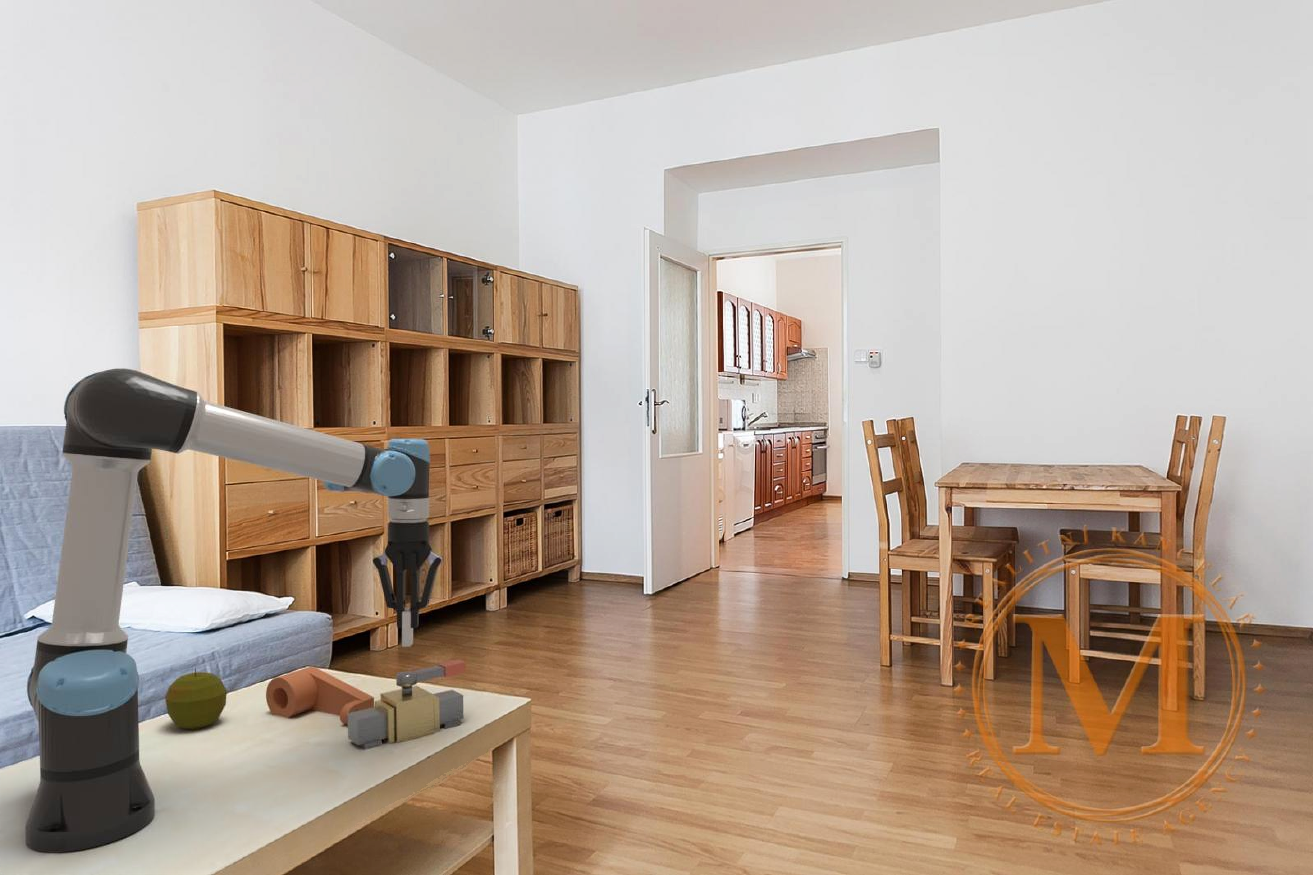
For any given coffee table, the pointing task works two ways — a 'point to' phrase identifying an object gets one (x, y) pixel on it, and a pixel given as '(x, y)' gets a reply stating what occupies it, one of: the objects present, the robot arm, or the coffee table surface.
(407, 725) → the grey and tan assembly
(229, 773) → the coffee table surface
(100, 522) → the robot arm
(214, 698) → the apple
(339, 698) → the orange bent piece
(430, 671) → the lever
